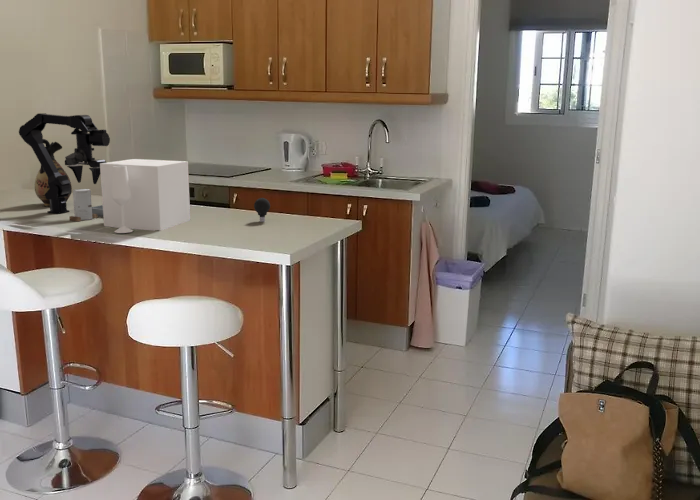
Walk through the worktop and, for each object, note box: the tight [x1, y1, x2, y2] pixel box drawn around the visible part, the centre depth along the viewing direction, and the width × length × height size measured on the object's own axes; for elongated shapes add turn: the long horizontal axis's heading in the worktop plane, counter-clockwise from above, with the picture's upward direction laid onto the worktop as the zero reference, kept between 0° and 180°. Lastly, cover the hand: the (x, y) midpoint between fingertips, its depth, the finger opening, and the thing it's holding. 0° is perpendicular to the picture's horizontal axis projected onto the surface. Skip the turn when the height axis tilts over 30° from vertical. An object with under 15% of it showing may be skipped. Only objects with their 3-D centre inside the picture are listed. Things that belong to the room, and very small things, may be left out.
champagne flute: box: [112, 166, 134, 234], centre depth 248 cm, size 7×7×24 cm
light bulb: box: [253, 197, 271, 223], centre depth 270 cm, size 6×6×10 cm
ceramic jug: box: [34, 138, 73, 208], centre depth 304 cm, size 17×15×30 cm
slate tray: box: [92, 204, 104, 218], centre depth 287 cm, size 14×14×3 cm
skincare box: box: [72, 188, 93, 221], centre depth 272 cm, size 6×4×12 cm
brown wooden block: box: [69, 214, 98, 222], centre depth 274 cm, size 5×10×2 cm, turn 152°
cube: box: [100, 158, 191, 232], centre depth 264 cm, size 25×21×24 cm
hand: (87, 183), depth 283 cm, fingers open, 9 cm apart
